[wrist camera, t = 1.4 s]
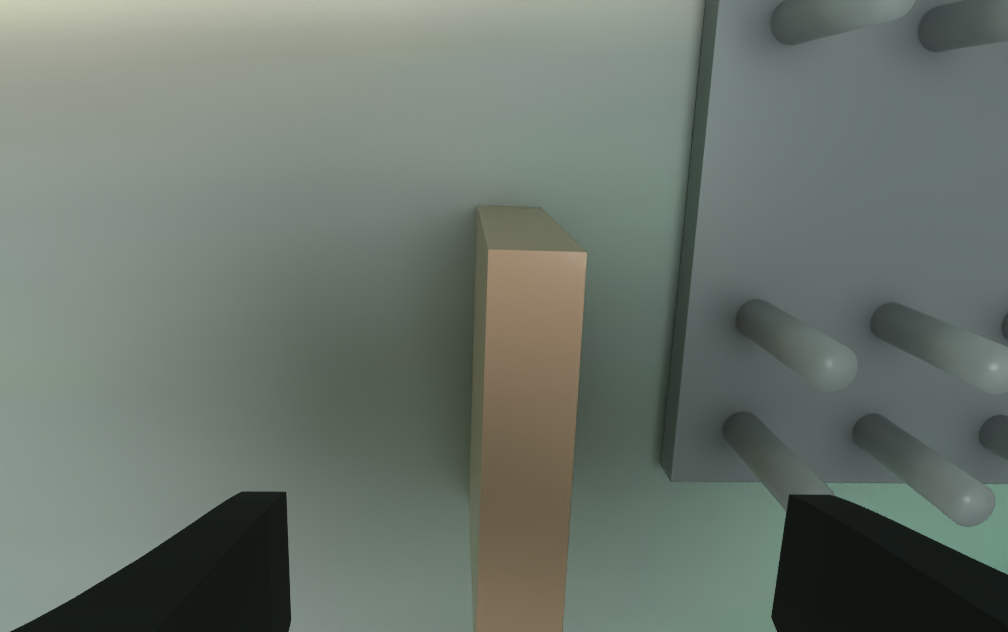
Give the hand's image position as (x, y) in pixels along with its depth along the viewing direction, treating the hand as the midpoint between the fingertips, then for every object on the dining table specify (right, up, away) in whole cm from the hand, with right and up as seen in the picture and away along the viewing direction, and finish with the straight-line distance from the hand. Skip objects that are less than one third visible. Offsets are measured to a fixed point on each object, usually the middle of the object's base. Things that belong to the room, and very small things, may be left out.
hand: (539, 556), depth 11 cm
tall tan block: (-1, +2, +9) cm, 9 cm away
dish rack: (+11, +7, +9) cm, 16 cm away
